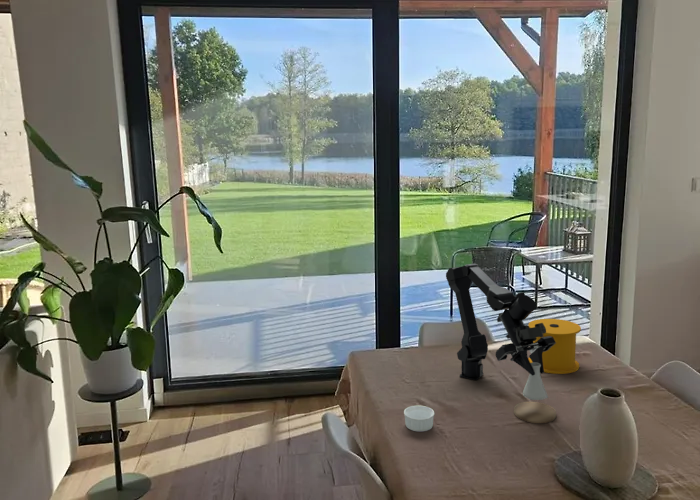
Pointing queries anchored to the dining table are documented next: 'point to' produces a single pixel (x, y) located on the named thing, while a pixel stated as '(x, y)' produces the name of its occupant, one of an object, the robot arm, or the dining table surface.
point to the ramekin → (419, 418)
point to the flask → (535, 385)
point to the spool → (559, 345)
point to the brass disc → (535, 412)
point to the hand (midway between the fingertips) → (538, 374)
